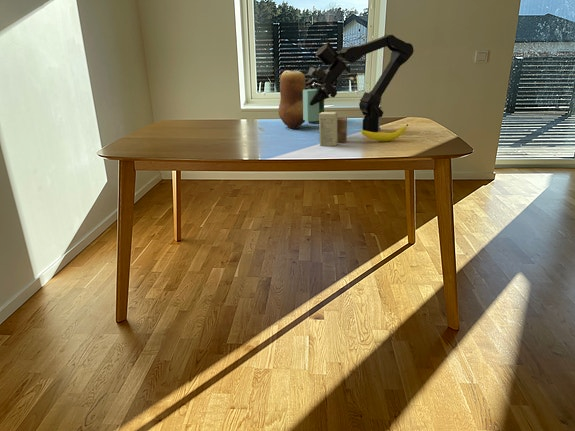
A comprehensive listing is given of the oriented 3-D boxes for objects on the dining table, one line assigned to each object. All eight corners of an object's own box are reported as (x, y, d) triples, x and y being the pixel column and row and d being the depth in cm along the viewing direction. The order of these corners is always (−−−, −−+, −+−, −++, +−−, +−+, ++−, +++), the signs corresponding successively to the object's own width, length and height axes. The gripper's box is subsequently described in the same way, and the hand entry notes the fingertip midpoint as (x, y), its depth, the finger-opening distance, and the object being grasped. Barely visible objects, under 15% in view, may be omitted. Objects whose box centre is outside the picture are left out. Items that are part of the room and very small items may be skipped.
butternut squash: (313, 127, 193) (313, 70, 183) (289, 131, 186) (288, 72, 176) (296, 123, 203) (295, 68, 193) (272, 127, 196) (270, 70, 187)
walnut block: (346, 140, 168) (347, 117, 164) (345, 143, 164) (346, 120, 160) (335, 140, 169) (335, 117, 165) (333, 142, 165) (334, 119, 161)
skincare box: (337, 143, 163) (338, 111, 158) (335, 146, 159) (335, 113, 154) (321, 142, 165) (321, 111, 160) (318, 145, 161) (318, 113, 156)
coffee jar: (322, 124, 200) (323, 83, 192) (306, 123, 201) (306, 83, 194) (325, 120, 208) (325, 81, 201) (309, 120, 210) (309, 81, 203)
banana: (358, 142, 165) (359, 125, 162) (405, 139, 166) (406, 123, 164) (360, 143, 162) (361, 127, 160) (408, 141, 164) (409, 124, 161)
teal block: (314, 118, 175) (314, 88, 171) (319, 120, 171) (319, 90, 166) (303, 119, 174) (302, 89, 169) (307, 121, 170) (307, 91, 165)
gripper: (310, 58, 173) (286, 88, 174) (330, 60, 156) (303, 93, 157) (328, 77, 178) (304, 106, 179) (348, 81, 162) (322, 112, 163)
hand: (307, 104), depth 170 cm, fingers closed on teal block, 5 cm apart
